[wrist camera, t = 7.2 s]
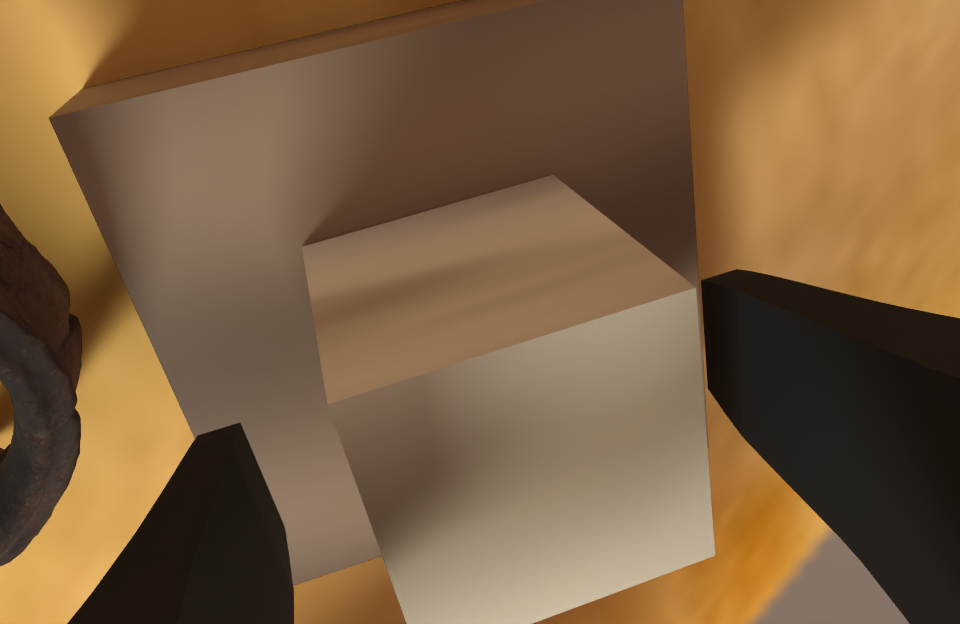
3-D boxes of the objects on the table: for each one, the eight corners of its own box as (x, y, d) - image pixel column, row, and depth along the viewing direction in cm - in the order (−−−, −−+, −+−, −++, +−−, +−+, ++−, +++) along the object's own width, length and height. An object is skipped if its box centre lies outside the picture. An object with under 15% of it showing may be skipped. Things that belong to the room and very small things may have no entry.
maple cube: (586, 384, 16) (715, 555, 11) (372, 454, 15) (421, 665, 11) (553, 175, 14) (696, 286, 9) (301, 246, 13) (327, 404, 9)
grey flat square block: (649, 380, 20) (708, 447, 17) (265, 501, 19) (266, 594, 16) (607, -38, 15) (681, -32, 13) (88, 83, 14) (48, 117, 11)
